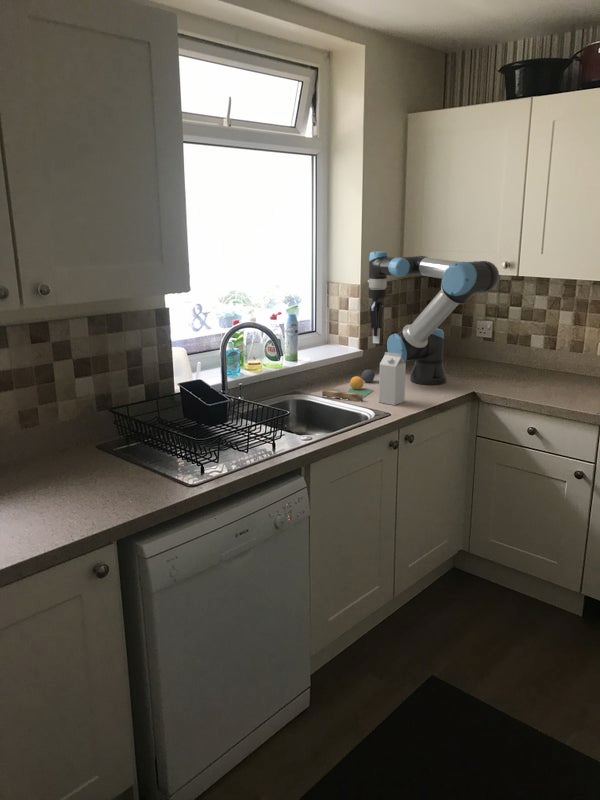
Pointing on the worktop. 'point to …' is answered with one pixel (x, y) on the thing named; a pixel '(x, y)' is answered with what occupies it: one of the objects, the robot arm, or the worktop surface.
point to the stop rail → (343, 395)
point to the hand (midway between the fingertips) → (376, 343)
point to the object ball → (356, 382)
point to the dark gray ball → (368, 375)
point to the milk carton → (392, 379)
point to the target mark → (360, 391)
